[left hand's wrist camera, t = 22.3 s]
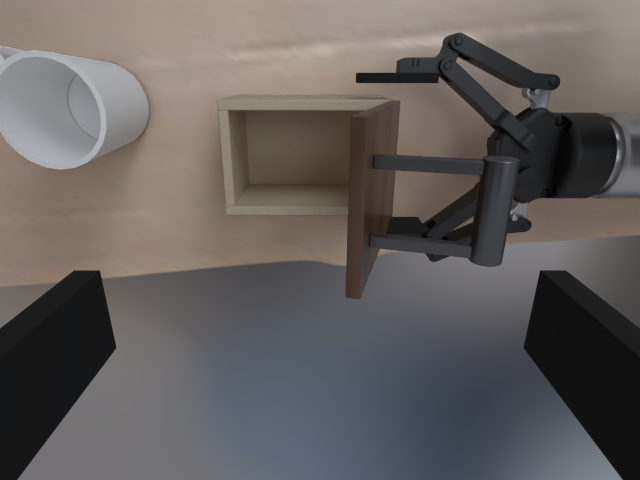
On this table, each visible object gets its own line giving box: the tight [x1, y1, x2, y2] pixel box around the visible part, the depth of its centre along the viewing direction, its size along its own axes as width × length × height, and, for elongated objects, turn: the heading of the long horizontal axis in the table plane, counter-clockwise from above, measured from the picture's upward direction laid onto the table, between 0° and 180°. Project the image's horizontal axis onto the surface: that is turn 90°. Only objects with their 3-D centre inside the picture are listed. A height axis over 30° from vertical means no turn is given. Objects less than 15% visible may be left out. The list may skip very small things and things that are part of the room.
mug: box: [0, 46, 150, 170], centre depth 37 cm, size 11×9×10 cm
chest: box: [217, 95, 391, 215], centre depth 39 cm, size 14×10×9 cm
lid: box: [346, 100, 520, 299], centre depth 27 cm, size 15×10×8 cm
